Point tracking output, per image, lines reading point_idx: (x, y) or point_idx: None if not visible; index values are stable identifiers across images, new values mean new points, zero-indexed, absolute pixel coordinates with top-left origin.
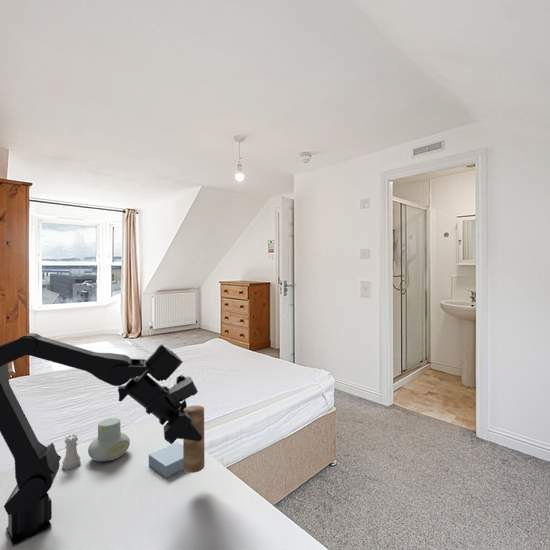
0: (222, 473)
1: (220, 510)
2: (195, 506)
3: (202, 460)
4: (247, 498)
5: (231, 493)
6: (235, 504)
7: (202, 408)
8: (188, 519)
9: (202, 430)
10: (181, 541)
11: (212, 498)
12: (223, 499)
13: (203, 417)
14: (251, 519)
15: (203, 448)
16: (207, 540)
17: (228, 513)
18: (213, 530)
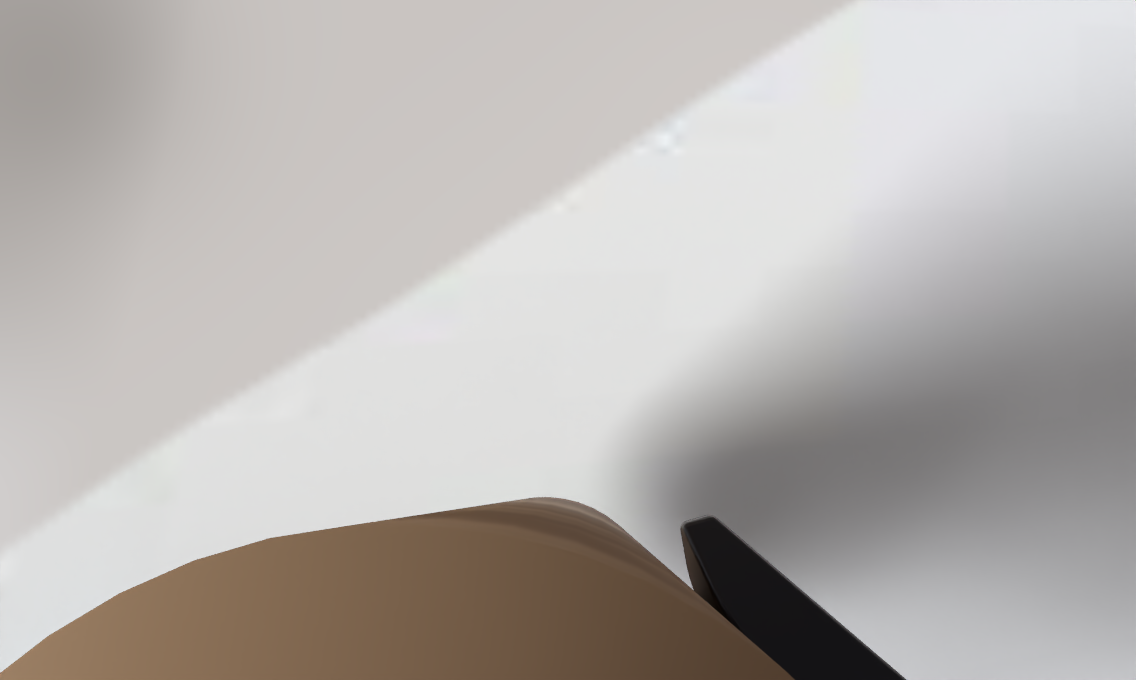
0: (359, 358)
1: (833, 347)
2: (775, 544)
3: (603, 515)
4: (714, 158)
5: (643, 274)
6: (774, 242)
7: (319, 628)
8: (918, 579)
9: (616, 533)
10: (1133, 596)
11: (690, 418)
12: (710, 332)
13: (554, 526)
14: (934, 137)
15: (580, 507)
16: (1121, 415)
17: (868, 289)
18: (1031, 383)
